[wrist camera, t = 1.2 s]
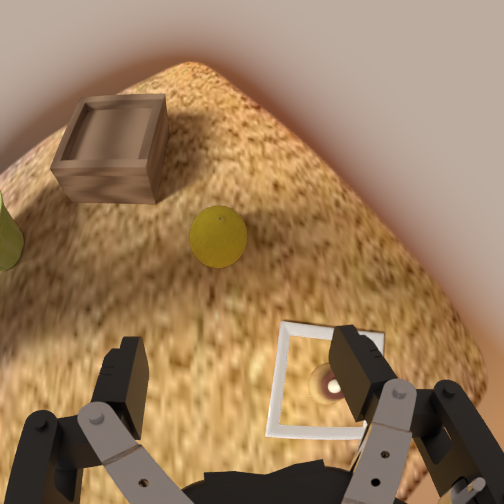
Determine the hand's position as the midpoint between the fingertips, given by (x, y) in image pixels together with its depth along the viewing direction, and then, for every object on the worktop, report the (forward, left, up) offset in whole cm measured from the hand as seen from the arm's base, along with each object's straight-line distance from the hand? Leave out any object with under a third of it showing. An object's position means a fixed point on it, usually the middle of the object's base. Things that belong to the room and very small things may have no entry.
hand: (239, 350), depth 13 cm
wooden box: (-14, +23, -19) cm, 33 cm away
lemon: (-1, +12, -19) cm, 23 cm away
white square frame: (+11, -2, -20) cm, 23 cm away
